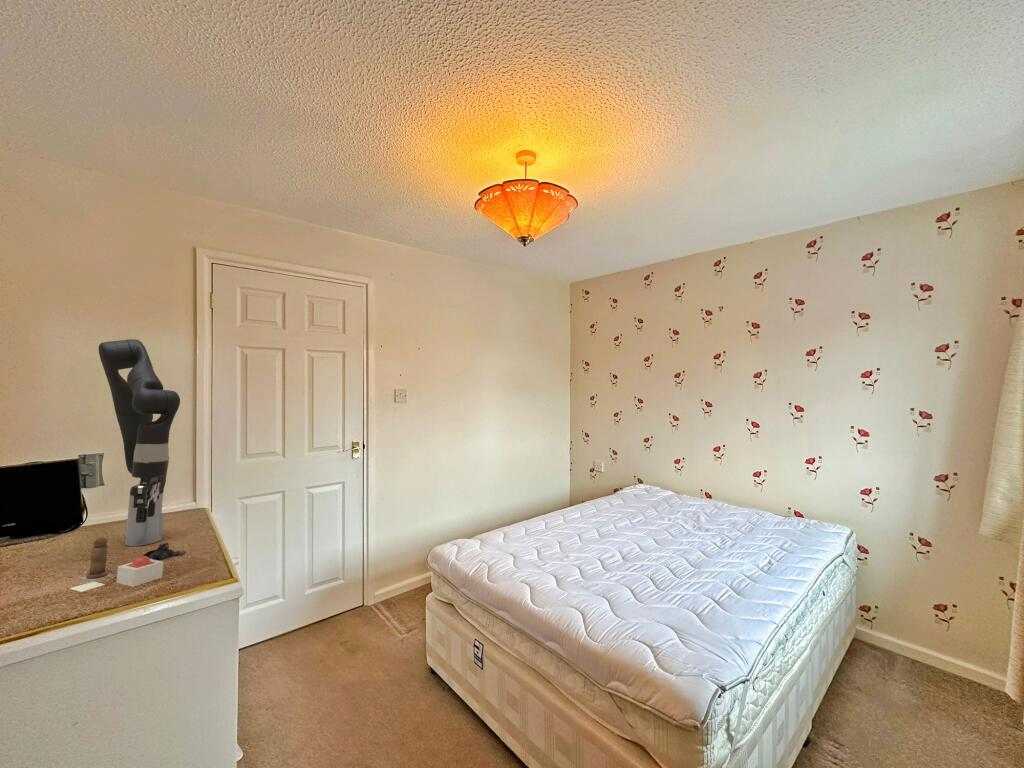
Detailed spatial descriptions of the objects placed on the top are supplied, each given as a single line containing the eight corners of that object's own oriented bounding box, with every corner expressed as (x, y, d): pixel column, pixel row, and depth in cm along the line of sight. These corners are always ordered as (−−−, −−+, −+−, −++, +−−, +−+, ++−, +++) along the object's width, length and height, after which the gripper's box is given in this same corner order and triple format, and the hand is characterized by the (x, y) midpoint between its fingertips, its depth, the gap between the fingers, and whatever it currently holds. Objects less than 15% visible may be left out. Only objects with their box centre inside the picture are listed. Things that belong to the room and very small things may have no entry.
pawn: (101, 572, 121) (105, 534, 121) (111, 574, 119) (115, 536, 120) (82, 577, 116) (86, 538, 117) (91, 580, 115) (96, 540, 116)
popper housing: (145, 574, 121) (147, 558, 121) (162, 577, 119) (163, 561, 119) (116, 583, 114) (118, 566, 115) (133, 587, 112) (134, 570, 112)
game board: (117, 570, 125) (118, 566, 125) (162, 581, 118) (163, 577, 119) (54, 588, 112) (54, 584, 112) (101, 601, 105) (101, 597, 105)
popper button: (143, 572, 119) (145, 553, 120) (152, 574, 118) (154, 555, 118) (126, 577, 115) (128, 557, 116) (136, 579, 114) (138, 559, 114)
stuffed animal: (148, 569, 124) (139, 539, 130) (139, 592, 127) (131, 562, 133) (195, 558, 134) (184, 531, 140) (186, 579, 136) (176, 552, 142)
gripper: (142, 456, 124) (137, 514, 122) (124, 462, 111) (117, 527, 110) (174, 456, 127) (169, 512, 126) (159, 462, 114) (153, 524, 113)
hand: (145, 519), depth 118 cm, fingers open, 6 cm apart
